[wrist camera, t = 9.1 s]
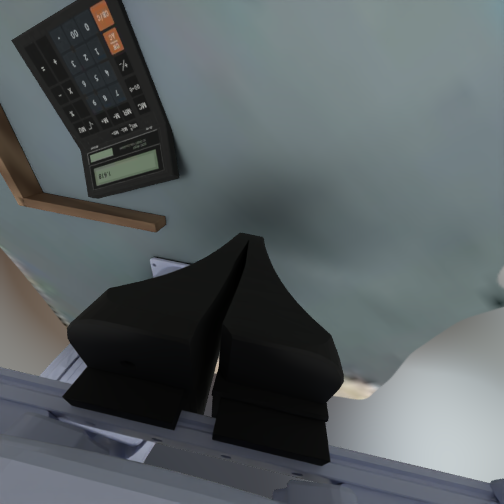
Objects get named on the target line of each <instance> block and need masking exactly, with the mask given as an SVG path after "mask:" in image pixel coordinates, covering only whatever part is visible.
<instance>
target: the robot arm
mask: <svg viewBox="0 0 504 504" xmlns="http://www.w3.org/2000/svg"><path fill="white" fill-rule="evenodd" d="M150 263H151V268H152V273H153V277H154V278H151V279H148V280H144V281H140V282H135V283H131V284H127V285H122V286H118V287H113V288H109V289H108V290H107V291H105V292H104V293H103V294H102V295H101V296H100V297H99V298H98V299H97V300H96V301H94V302H93V303H92V304H91V305H90V306H89V307H88V308H87V309H86V310H84V311H83V312H82V313H81V314H80V315H79V316H78V317H77V318H76V319H75V320H73V321H72V322H71V323H70V325H69V326H68V327H67V336H68V339H69V341H70V344H69V345H68V346H67V347H66V348H65V349H64V350H63V351H62V352H61V353H60V354H59V355H58V356H57V357H56V358H55V360H54V361H53V362H52V363H51V364H50V365H49V366H48V367H47V368H46V369H45V370H44V371H43V373H42V374H41V375H40V376H36V375H32V374H27V373H23V372H19V371H15V370H10V369H6V368H1V367H0V504H504V479H499V480H494V481H491V483H487V482H483V481H478V480H474V479H470V478H466V477H462V476H457V475H453V474H449V473H444V472H441V471H436V470H432V469H428V468H423V467H419V466H415V465H411V464H407V463H402V462H398V461H394V460H390V459H386V458H381V457H377V456H373V455H368V454H364V453H360V452H356V451H352V450H347V449H343V448H339V447H335V446H331V445H328V439H327V432H326V425H325V422H327V421H328V410H327V403H326V402H327V401H328V400H329V399H330V398H331V397H332V396H333V395H334V394H335V393H336V392H337V391H338V390H339V389H340V387H341V385H342V384H343V382H344V374H343V370H342V366H341V362H340V358H339V355H338V352H337V349H336V347H335V344H334V341H333V339H332V336H331V335H330V334H329V333H328V332H327V331H326V330H325V329H324V328H323V327H322V326H320V325H319V324H318V323H317V322H316V321H315V320H314V319H313V318H312V317H311V316H310V315H309V314H308V313H307V312H306V311H305V310H304V309H303V308H302V307H301V306H300V305H299V304H298V303H297V302H296V300H295V299H294V298H293V297H292V296H291V294H290V293H289V292H288V291H287V289H286V288H285V286H284V285H283V283H282V282H281V280H280V279H279V277H278V275H277V274H276V272H275V270H274V268H273V266H272V264H271V261H270V259H269V256H268V254H267V251H266V248H265V244H264V238H263V237H260V236H255V235H250V234H245V233H239V234H238V235H236V236H235V237H234V238H233V239H232V240H230V241H229V242H228V243H226V244H225V245H224V246H222V247H221V248H220V249H218V250H217V251H215V252H213V253H212V254H210V255H209V256H207V257H205V258H203V259H202V260H200V261H197V262H195V263H193V264H191V265H189V264H184V263H180V262H175V261H170V260H165V259H160V258H155V257H153V258H151V259H150ZM155 264H156V265H155ZM219 352H220V358H219V368H218V372H217V376H216V379H215V383H214V386H213V390H212V396H213V401H212V417H208V416H204V411H205V407H206V403H207V399H208V395H209V391H210V387H211V383H212V379H213V375H214V371H215V367H216V364H217V360H218V356H219ZM155 443H158V444H162V445H166V446H170V447H174V448H179V449H183V450H187V451H191V452H195V453H199V454H203V455H207V456H211V457H215V458H219V459H223V460H227V461H232V462H235V463H240V464H244V465H248V466H252V467H256V468H260V469H264V470H268V471H272V472H276V473H280V474H285V475H288V476H292V477H296V478H301V479H305V480H309V481H313V482H306V481H298V480H290V481H289V482H288V483H287V487H286V488H284V489H276V490H274V492H273V496H272V497H273V498H272V499H270V498H267V497H263V496H260V495H257V494H254V493H250V492H247V491H244V490H240V489H237V488H233V487H230V486H227V485H223V484H220V483H216V482H213V481H209V480H205V479H202V478H198V477H195V476H191V475H187V474H183V473H180V472H176V471H172V470H168V469H164V468H160V467H156V466H152V465H148V464H144V463H143V462H144V460H145V458H146V457H147V455H148V454H149V452H150V451H151V449H152V447H153V446H154V445H155ZM316 482H317V483H316Z"/></svg>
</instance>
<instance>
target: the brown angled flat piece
mask: <svg viewBox="0 0 504 504" xmlns="http://www.w3.org/2000/svg"><path fill="white" fill-rule="evenodd" d="M0 173H1V174H2V176H3V178H4V180H5V181H6V183H7V185H8V187H9V188H10V190H11V192H12V193H13V195H14V197H15V199H16V200H17V202H18V204H19V205H21V206H26V207H31V208H36V209H41V210H46V211H51V212H56V213H61V214H66V215H71V216H76V217H81V218H86V219H91V220H96V221H101V222H106V223H111V224H116V225H121V226H126V227H131V228H136V229H141V230H146V231H151V232H157V231H159V230H160V229H161V228H162V227H164V226H165V225H166V220H165V216H160V215H155V214H150V213H145V212H140V211H135V210H130V209H124V208H119V207H114V206H109V205H104V204H99V203H94V202H89V201H83V200H78V199H73V198H68V197H63V196H58V195H53V194H48V193H43V191H42V189H41V187H40V185H39V183H38V181H37V179H36V177H35V175H34V173H33V171H32V169H31V167H30V165H29V163H28V161H27V159H26V156H25V154H24V152H23V150H22V148H21V146H20V144H19V142H18V140H17V138H16V136H15V134H14V132H13V130H12V128H11V126H10V123H9V121H8V119H7V117H6V115H5V113H4V111H3V109H2V107H1V105H0Z"/></svg>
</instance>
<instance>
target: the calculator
mask: <svg viewBox="0 0 504 504" xmlns="http://www.w3.org/2000/svg"><path fill="white" fill-rule="evenodd" d="M11 41H12V42H13V44H14V45H15V47H16V49H17V50H18V52H19V53H20V55H21V56H22V58H23V60H24V61H25V63H26V64H27V66H28V68H29V69H30V71H31V72H32V74H33V76H34V77H35V79H36V80H37V82H38V83H39V85H40V87H41V88H42V90H43V91H44V93H45V95H46V96H47V98H48V99H49V101H50V102H51V104H52V106H53V107H54V109H55V110H56V112H57V114H58V115H59V117H60V118H61V120H62V121H63V123H64V125H65V126H66V128H67V129H68V131H69V133H70V134H71V136H72V137H73V139H74V140H75V142H76V144H77V145H78V147H79V148H80V150H81V155H82V161H83V167H84V173H85V179H86V185H87V191H88V197H92V198H97V199H98V198H102V197H106V196H110V195H114V194H118V193H122V192H126V191H130V190H134V189H138V188H142V187H146V186H150V185H154V184H158V183H162V182H166V181H170V180H174V179H178V178H179V172H178V166H177V160H176V153H175V147H174V141H173V135H172V129H171V127H170V124H169V121H168V119H167V116H166V114H165V111H164V109H163V106H162V103H161V101H160V98H159V96H158V93H157V90H156V88H155V85H154V83H153V80H152V78H151V75H150V72H149V70H148V67H147V65H146V62H145V59H144V57H143V54H142V52H141V49H140V47H139V44H138V41H137V39H136V36H135V34H134V31H133V29H132V26H131V23H130V21H129V18H128V16H127V13H126V10H125V8H124V5H123V3H122V0H76V1H75V2H73V3H71V4H70V5H68V6H67V7H65V8H63V9H62V10H60V11H58V12H57V13H55V14H54V15H52V16H50V17H49V18H47V19H45V20H44V21H42V22H40V23H39V24H37V25H36V26H34V27H32V28H31V29H29V30H27V31H26V32H24V33H22V34H21V35H19V36H18V37H16V38H14V39H13V40H11Z"/></svg>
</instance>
